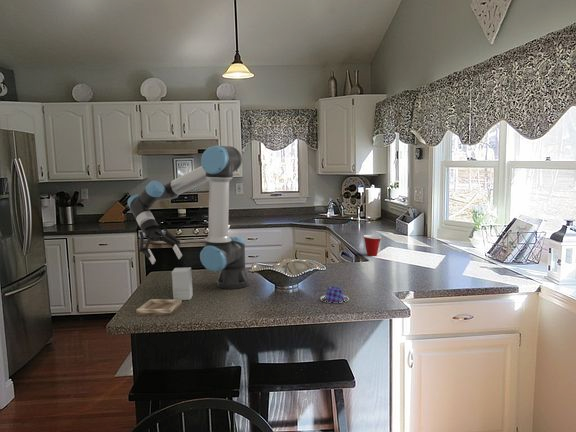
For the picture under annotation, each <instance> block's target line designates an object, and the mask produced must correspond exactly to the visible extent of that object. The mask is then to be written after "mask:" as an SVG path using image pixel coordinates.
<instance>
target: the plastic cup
mask: <svg viewBox="0 0 576 432" xmlns="http://www.w3.org/2000/svg"><path fill="white" fill-rule="evenodd" d="M363 238H364V243H365V244H364V245H365V250H366V255H367V256H368V257H377V256H378V252H379V249H380V248H379V247H380V242H381V240H382V236H380V235H375V234H363Z"/></svg>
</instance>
